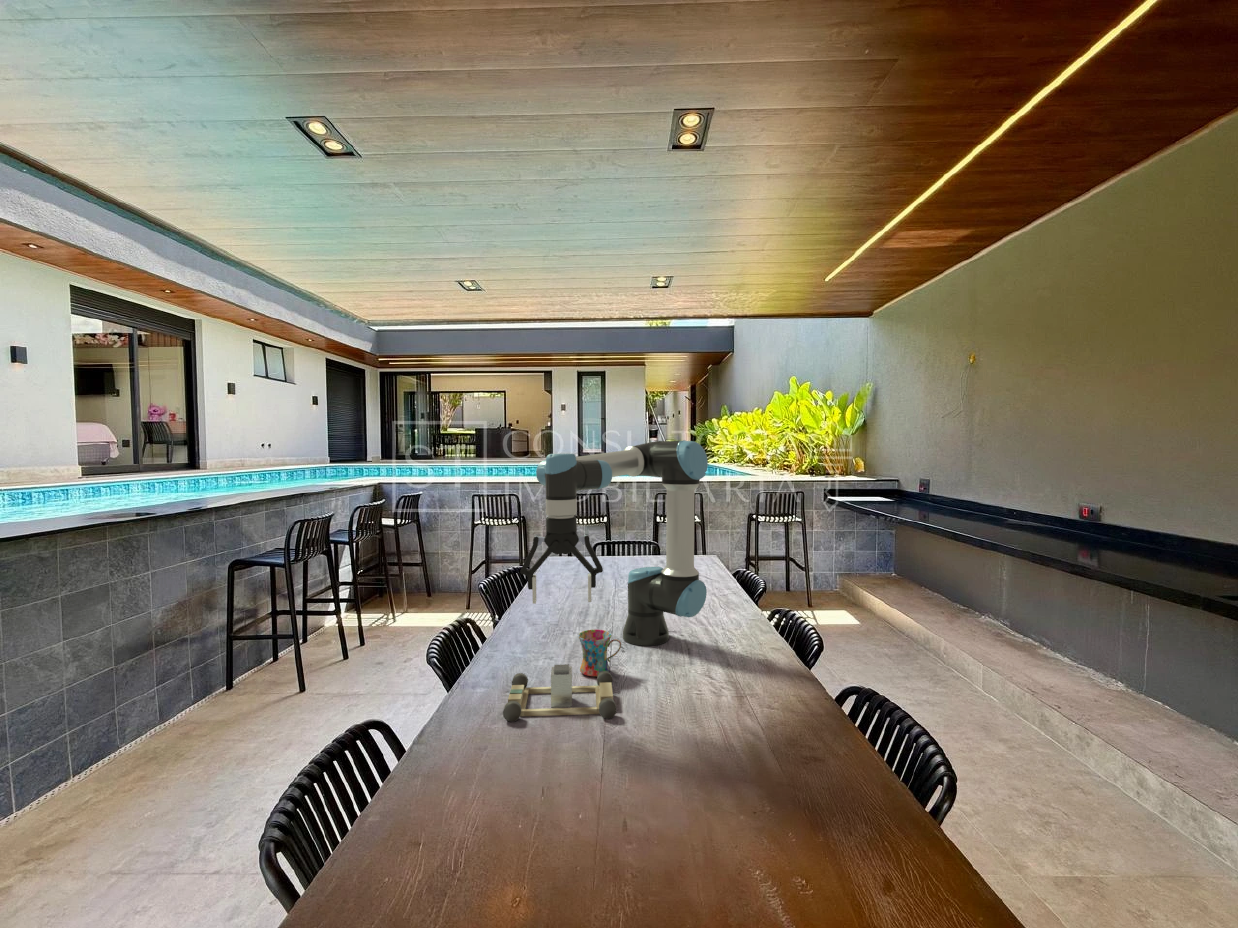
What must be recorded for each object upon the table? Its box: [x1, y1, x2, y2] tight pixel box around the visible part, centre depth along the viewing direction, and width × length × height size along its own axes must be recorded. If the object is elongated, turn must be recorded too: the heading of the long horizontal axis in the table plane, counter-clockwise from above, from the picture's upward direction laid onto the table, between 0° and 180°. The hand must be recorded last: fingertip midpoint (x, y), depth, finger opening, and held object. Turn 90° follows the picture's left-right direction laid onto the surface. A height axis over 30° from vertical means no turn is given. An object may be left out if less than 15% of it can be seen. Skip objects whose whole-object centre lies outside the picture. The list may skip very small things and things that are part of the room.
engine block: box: [550, 663, 573, 708], centre depth 139 cm, size 5×5×9 cm
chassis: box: [502, 671, 617, 723], centre depth 139 cm, size 26×18×4 cm
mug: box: [577, 629, 622, 677], centre depth 157 cm, size 12×9×11 cm
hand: (562, 601), depth 140 cm, fingers open, 13 cm apart
